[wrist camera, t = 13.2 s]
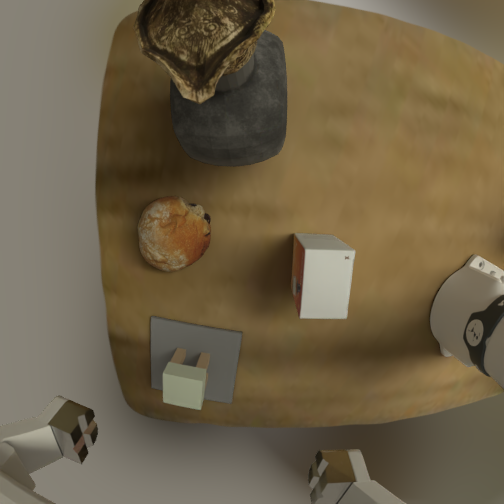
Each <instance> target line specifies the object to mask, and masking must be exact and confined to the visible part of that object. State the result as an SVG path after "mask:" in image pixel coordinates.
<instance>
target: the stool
mask: <svg viewBox="0 0 504 504" xmlns="http://www.w3.org/2000/svg"><path fill="white" fill-rule="evenodd" d="M185 357H186V349H181V348H177V350H176V351H175V353H174V355H173V357H172V359H171V361H170V362H168V364H167V366H166V368H165V370H164V372H163V402H164V403H169V404H173V405H177V406H182V407H187V408H192V409H197V410H201V407H202V403H203V400H204V392H205V388H206V385H207V381H208V373H206V371H207V368H208V365H209V361H210V354H208V353H203V352H201V354H200V357H199V360H198V363H197V365H196V367H192V366H187V365H182V364H183V362H184V360H185Z"/></svg>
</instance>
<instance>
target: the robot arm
mask: <svg viewBox="0 0 504 504" xmlns="http://www.w3.org/2000/svg"><path fill="white" fill-rule="evenodd" d="M479 264H480V265H479ZM430 325H431V330H432V333H433V335H434V337H435V338H436V339H437V341H438V342H439V344H440V350H441V353H442V355H444V356H445V357H449V356H454V357H455V358H456V359H458V360H459V361H460V362H462V363H463V364H464V365H465V366H467V367H471V366H476V368H477V369H478V370H479V371H480V372H482V373H484V374H485V375H486V376H489V377H492V378H493V379H494V380H495V381H496V382H497V383H498V384H499V385H500V386H501V387H502V388H503V389H504V271H503V270H501V269H500V268H498V267H497V266H495V265H493V264H492V263H490V262H488V261H487V260H485V259H483V258H482V257H480V256H478V255H473V256H472V257H471V258H470V259H469V260H468V262H467V263H466V264H465V266H464V267H463V268H461V269H460V270H458V271H457V272H455V273H454V274H452V275H451V276H450V277H449V278H448V279H447V280H446V281H445V283H444V284H443V285H442V287H441V288H440V290H439V292H438V293H437V295H436V298H435V300H434V303H433V306H432V310H431V316H430ZM94 417H95V415H94V412H93V410H92V409H90V408H87V407H85V406H82V405H80V404H78V403H75V402H73V401H71V400H68V399H66V398H64V397H62V396H57V397H55V398H54V399H53V400H52V401H51V403H50V404H49V405H48V406H47V407H46V408H45V409H44V410H43V412H42V413H41V414H40V415H39V416H38V417H37V418H35V417H32V418H29V419H25V420H21V421H18V422H14V423H10V424H6V425H2V426H0V504H55V503H53V502H52V501H50V500H48V499H46V498H44V497H43V496H41V495H39V494H37V493H36V492H34V491H33V489H34V488H35V483H34V481H33V480H32V478H31V477H30V475H29V474H30V473H32V472H34V471H36V470H38V469H40V468H42V467H45V466H47V465H49V464H51V463H53V462H55V461H57V460H59V459H61V458H62V457H63V456H64V457H66V458H68V459H70V460H73V461H75V462H77V463H80V464H82V463H83V461H84V460H85V458H86V456H87V455H88V449H87V448H88V447H90V446H93V445H94V443H95V441H96V438H97V435H98V428H97V424H96V423H95V422H94V420H93V418H94ZM315 458H316V461H315V462H314V463H312V464H311V466H310V469H309V474H308V483H309V486H310V487H311V488H312V489H313V490H312V492H311V494H310V499H311V504H406V503H404V502H403V501H402V500H400V499H399V498H397V497H396V496H394V495H393V494H392V493H390V492H389V491H388V490H386V489H385V488H384V487H382V486H381V485H380V484H378V483H377V482H376V481H374V480H373V481H371V480H370V477H369V474H368V472H367V468H366V465H365V463H364V460H363V457H362V454H361V451H360V450H359V449H353V450H319V451H318V452H317V454H316V456H315Z"/></svg>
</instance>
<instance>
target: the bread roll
mask: <svg viewBox="0 0 504 504" xmlns="http://www.w3.org/2000/svg"><path fill="white" fill-rule="evenodd" d="M137 227H138V234H139V247H140V251H141V254H142V256H143V258H144V259H145V260H146V261H147V262H148V263H149V264H150V265H152V266H153V267H155V268H158V269H160V270H163V271H167V272H171V271H176V270H180V269H183V268H184V267H187V266H189V265H191V264H192V263H194V262H195V261H197V260H198V259H199V258H200V257H201V256H202V255H203V254H204V253H205V251H206V249H207V248H208V247H209V244H210V232H211V227H210V216H209V215H208V214H206V213H205V211H204V210H203V208H202V206H200V205H196V204H190V203H188V202H187V201H186V200H185V199H183V198H181V197H176V196H170V197H168V196H167V197H163V198H159V199H158V200H155V201H154V202H152V203H150V204H149V205H148V206H147V207H146V208H145V209H144V211H143V213H142V215H141V218H140V220H139V223H138V226H137Z"/></svg>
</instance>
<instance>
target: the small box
mask: <svg viewBox="0 0 504 504" xmlns="http://www.w3.org/2000/svg"><path fill="white" fill-rule="evenodd" d="M354 258H355V250H354V249H352V248H351V247H350V246H348V245H347V244H345V243H344V242H342V241H341V240H339V239H338V238H337V237H335V236H334V235H325V234H305V233H294V246H293V263H292V277H291V290H292V293H293V297H294V300H295V304H296V308H297V312H298V315H299V318H306V319H346V318H347V313H348V303H349V296H350V288H351V280H352V271H353V264H354Z"/></svg>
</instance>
